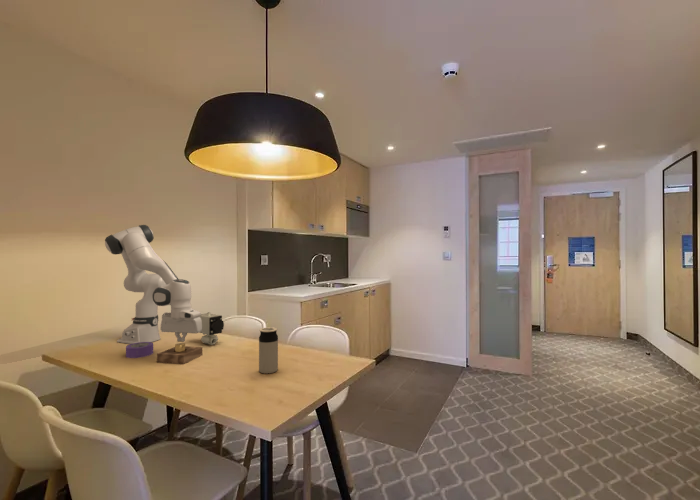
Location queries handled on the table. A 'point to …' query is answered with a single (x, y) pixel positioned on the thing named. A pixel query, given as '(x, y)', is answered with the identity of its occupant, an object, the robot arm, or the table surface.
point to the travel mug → (268, 350)
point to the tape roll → (139, 349)
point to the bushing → (180, 347)
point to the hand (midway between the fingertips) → (181, 341)
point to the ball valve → (211, 327)
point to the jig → (179, 355)
